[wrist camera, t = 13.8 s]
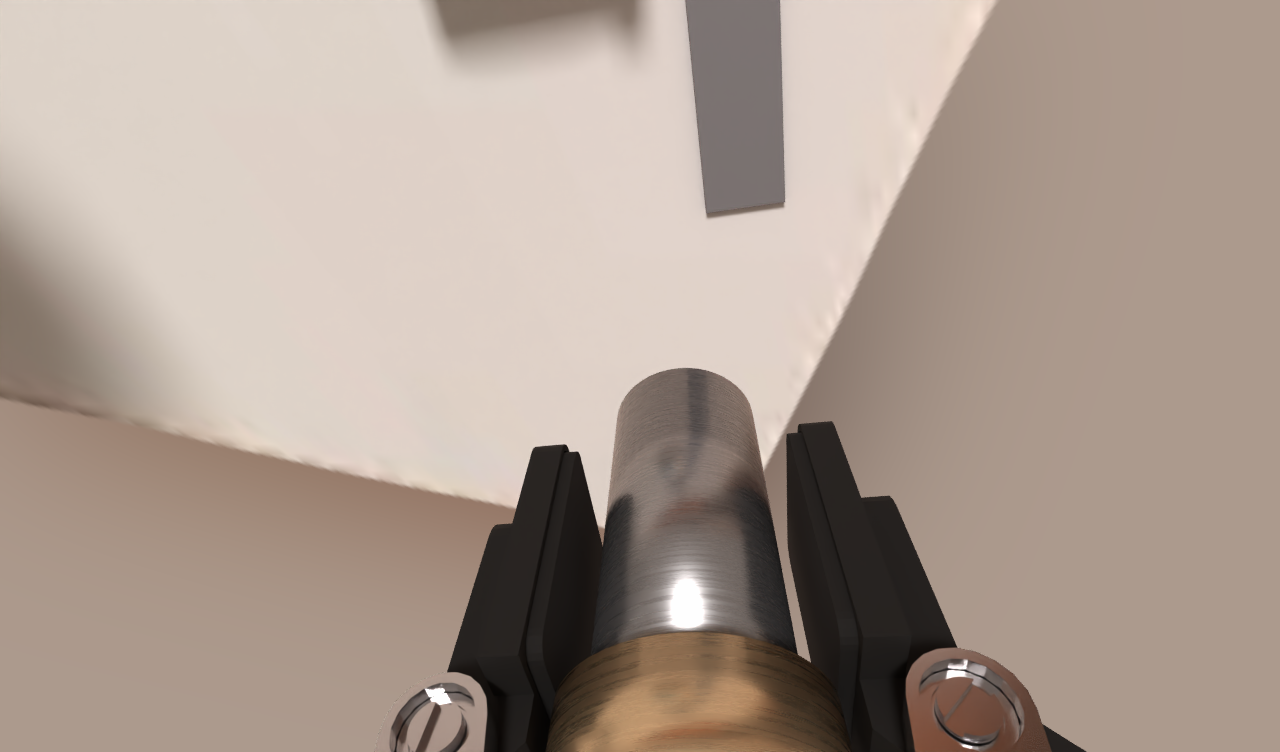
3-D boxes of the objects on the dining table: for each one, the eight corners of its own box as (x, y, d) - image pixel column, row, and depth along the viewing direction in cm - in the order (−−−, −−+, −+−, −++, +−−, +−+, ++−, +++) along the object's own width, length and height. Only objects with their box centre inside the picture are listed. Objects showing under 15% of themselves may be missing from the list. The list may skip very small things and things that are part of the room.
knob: (613, 494, 14) (563, 975, 7) (582, 360, 12) (477, 849, 5) (774, 482, 14) (877, 977, 7) (771, 341, 12) (907, 842, 5)
